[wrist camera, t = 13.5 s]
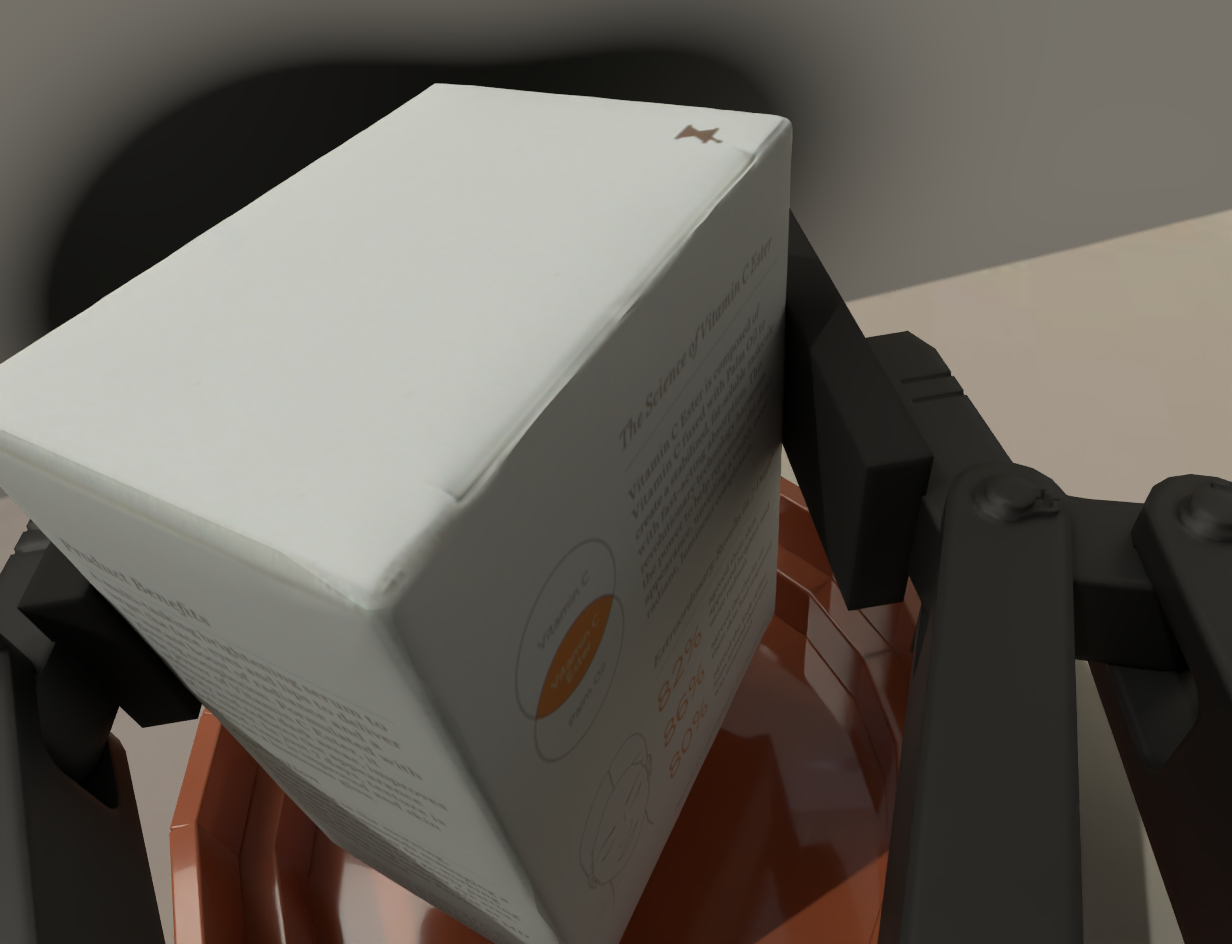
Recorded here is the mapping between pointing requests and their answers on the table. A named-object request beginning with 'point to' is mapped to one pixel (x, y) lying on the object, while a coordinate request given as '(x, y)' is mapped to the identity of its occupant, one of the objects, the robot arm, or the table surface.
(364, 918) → the bowl
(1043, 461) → the table surface
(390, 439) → the small box
